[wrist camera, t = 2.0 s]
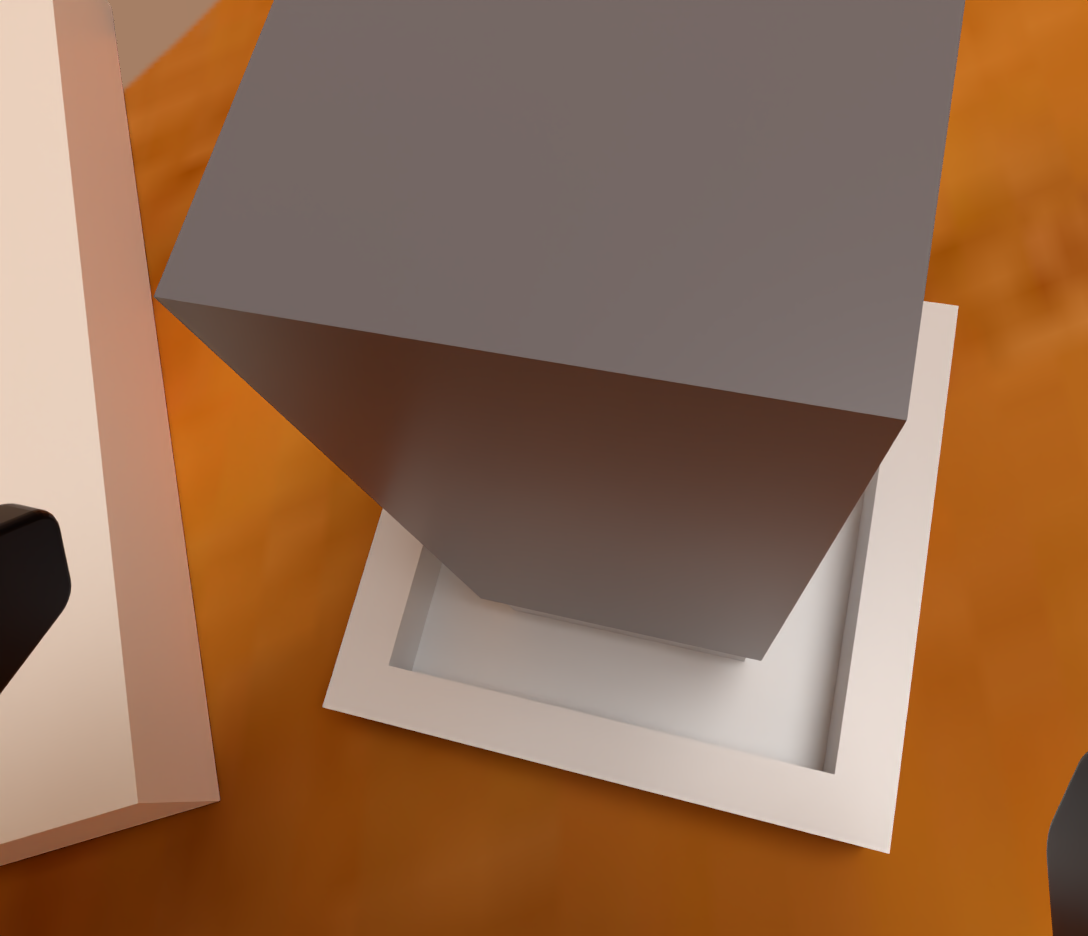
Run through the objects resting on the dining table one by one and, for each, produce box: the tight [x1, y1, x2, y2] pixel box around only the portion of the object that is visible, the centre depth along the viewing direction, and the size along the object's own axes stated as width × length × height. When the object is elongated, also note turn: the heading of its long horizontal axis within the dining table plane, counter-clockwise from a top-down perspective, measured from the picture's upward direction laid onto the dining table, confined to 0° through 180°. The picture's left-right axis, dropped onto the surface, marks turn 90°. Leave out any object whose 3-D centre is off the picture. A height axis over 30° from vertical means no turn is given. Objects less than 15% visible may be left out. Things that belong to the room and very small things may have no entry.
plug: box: [154, 0, 965, 661], centre depth 13 cm, size 5×5×13 cm
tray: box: [322, 301, 958, 854], centre depth 18 cm, size 10×10×2 cm
